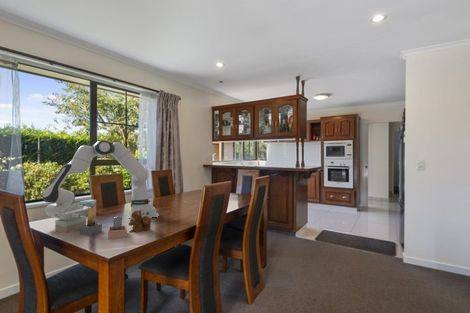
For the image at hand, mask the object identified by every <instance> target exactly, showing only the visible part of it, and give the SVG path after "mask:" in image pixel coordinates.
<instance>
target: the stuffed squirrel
mask: <svg viewBox="0 0 470 313" xmlns="http://www.w3.org/2000/svg"><path fill="white" fill-rule="evenodd" d="M131 218H134V219H130V220H129V222H128V226H131V227H132V229H131V230H129V233H139V232H146V231H149V230H150V229H151V227H152V226H151V224H152V218H149V217H148V216H144V217H143V218H142V216H141V210H140V211H134V212H133V213H132V215H131Z"/></svg>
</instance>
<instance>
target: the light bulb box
mask: <svg viewBox="0 0 470 313" xmlns="http://www.w3.org/2000/svg"><path fill="white" fill-rule="evenodd" d="M78 205H83V206H89V207H91V206H94V207H96V208H97V199H86V200H85V199H84V200H81V201H79V202H78ZM83 216H85V217H87V216H88V214H86V215H83Z"/></svg>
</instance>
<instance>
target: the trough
mask: <svg viewBox="0 0 470 313" xmlns="http://www.w3.org/2000/svg"><path fill="white" fill-rule="evenodd" d="M54 223H55V224H54V231H55V232H59V233H67V234H68V233H70V232H73V231H76V230H80V227H81V226H84V225H87V216H84V215H82V216H80V217H75V218H72V219H67V220H62V219H56V220H55V222H54Z"/></svg>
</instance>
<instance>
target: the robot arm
mask: <svg viewBox="0 0 470 313" xmlns="http://www.w3.org/2000/svg"><path fill="white" fill-rule="evenodd" d="M109 155H111V156H113V157H114V159H115V160H116V161H117V162H118V164H120V166H122V168H123V169H124V170H125V171H126V172H127V173H128V174H129V175H130V176H131V178H130V179H131V199H130V210H129V215H128V218H129V219H130V220H131V219H134V218H131V215H132V213H133V212H134V211H140V210H141V216H142V218H143V217H144V216H148V217H149V218H150V219H153V218H152V217H157V218H159V217H160V214H159V213H158V212H157V209H156V207H154V206H153V205H152V204H151V199H149V198H148V197H147V196H148V194H147V193H148V188H147V180H148V179H149V178H150V174H149V171H148V170H147V168H146V167H145V166H144V165H143V164H142V163H141V162H140V161H139V159H137V158H136V157H135V156H134V155H133V153H131V151H130V150H129V148H127V147H126V146H125V145H124V144H122V143H121V142H120V141H114V142H110V141H108V140H103V139H102V140H99V141H97V142H95V143H94V144H93V145H92V146H91V145H86V144H85V145H81V146H79V148H77V150H76V152H75V153H74V155H73V157H72V159H71V160H70V162H67V163H65V164H64V165H63V166H62V167H61V168H60V169H59V170H58V172H57V173H56V175H55V176H54V178H53V179H52V181H50V183H49V184H48V185H47V186H46V187H45V188H44V190H43V191H42V193H41V197H42V199H43V201H44V202H45V203H50V204H47V206H45V210H44V211H45V213H46V215H47V216H49V217H51V218H56V219H57V220H59V219H62V220H67V219H72V218H75V217H80V216H84V215H86V214H88V207H89V206H83V205H79V204H75V205H74V202H75V199H76V197H75V196H76V195H75V192H73V191H71V190H68V189H64V188H61V186H62V185H63V183H64V181H65V180H66V179H67V177H68V176H70V175H73V174H82V173H85V172H87V171H88V170H89V167H90V166H91V164H92V161H93V159H94V158H104V157H107V156H109ZM86 216H87V215H86ZM158 216H159V217H158Z"/></svg>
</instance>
